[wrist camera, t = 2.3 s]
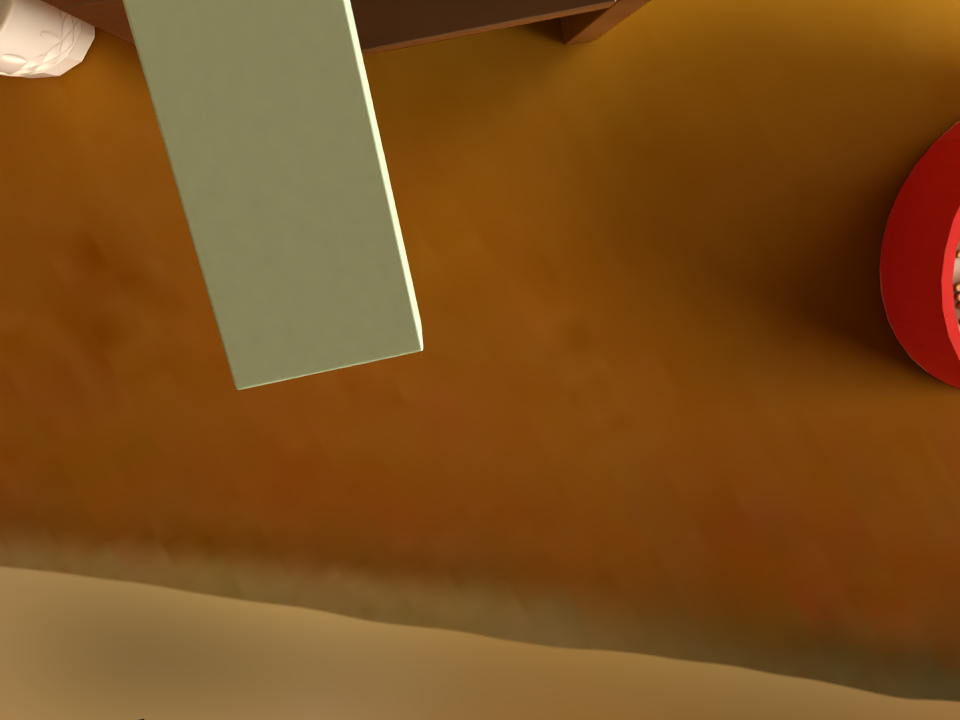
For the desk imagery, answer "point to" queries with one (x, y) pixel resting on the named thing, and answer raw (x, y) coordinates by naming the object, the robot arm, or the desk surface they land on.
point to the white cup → (40, 39)
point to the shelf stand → (418, 18)
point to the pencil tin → (280, 181)
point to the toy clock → (926, 261)
